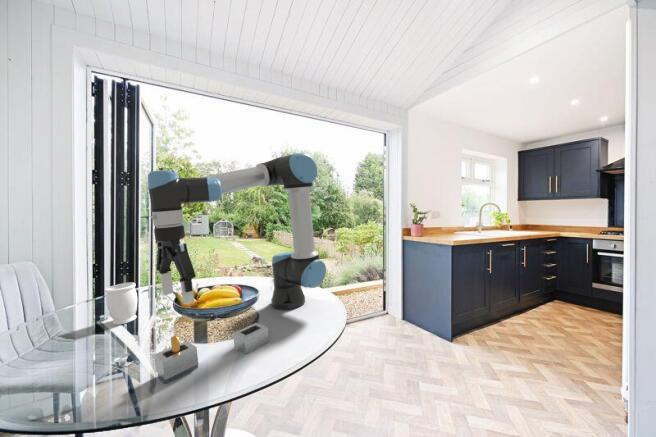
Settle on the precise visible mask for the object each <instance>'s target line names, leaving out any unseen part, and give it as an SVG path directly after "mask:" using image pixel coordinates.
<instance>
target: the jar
mask: <svg viewBox="0 0 656 437" xmlns="http://www.w3.org/2000/svg"><path fill="white" fill-rule="evenodd" d="M136 286H137V285H136V283H135V282H123V283H118V284H115V285H111V286H108V287H106V288H105V289H104V292H105V293H106V306H107V310H108V312H109V315H110V317H111V318H112V320H113V321H112V325H116V326H117V325H118V326H119V325H124V324H128V323H131V322H133V321H135V320H136V319H137V317H138V316H137V315H136V313H137V310H138V294H137V289H136Z"/></svg>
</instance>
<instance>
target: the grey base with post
mask: <svg viewBox="0 0 656 437" xmlns="http://www.w3.org/2000/svg"><path fill="white" fill-rule="evenodd" d="M170 344H171V345H170V346H171V347H172V355H174V354H177V353H179V352H180V345H179V344H180V338H179V335H173V336H171V337H170ZM198 368H199V363H198V364H197V365H195V366H193V367H191V368H189V369H187V370H185V371H183V372H181V373H179V374H176V375H174V376H172V377H170V378H168V379H166V380H164V379H163V378H162V377H161V376H160V375H159V374H158V373H157V378H158V379H159V380H160V381H161V382H162V383H163V384H165V385H166V384H168V383H170V382H172V381H174V380H176V379H178V378H180V377H183V376H184V375H186V374H187V373H190V372H192V371H194V370H196V369H198Z"/></svg>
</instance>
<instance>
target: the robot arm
mask: <svg viewBox="0 0 656 437" xmlns="http://www.w3.org/2000/svg"><path fill="white" fill-rule="evenodd" d="M318 171H319V170H318V167H317V163H316V161H315V160H314V158H312V156H311V155H310V154H307V153H306V152H305V153H304V152H299V153H293V154H288V155H285V156H280V157H276V158H274V159H271V160H269V161H264V162H261V163H257V164H256V165H255V166H251V167H247V168H243V169H238V170H232V171H227V172H220V173H216V174H211V175H206V176H201V177H179V173H178V171H176V170H163V169H162V170H153V171H150V172H148V174H147V186H148V187H147V190H148V193H149V199H150V209H151V214H152V215H150V219H151V220H152V223H153V226H154V227H155V228H154V229H153V232H154V239H155V241H156V242H157V256H156V266H155V267H156V268H155V269H156V271H157V272H159V276H160V282H161V291H162V295H163V296H167V295H170V294H174V287H173V279H172V269H171V266H172V262H173V263H174V266H175V268H176V269H177V272H178V275H179V277H180V279H179V283H180V288H181V290H180V291H181V296H182V304H183V305H187V304H191V303H193V302H195V297H194V296H195V295H194V286H193V280H192V279H194V278H196V276H197V275H196V272H195V269H194V266H193V263H192V260H191V257H190V255H189V251H188V247H187V246H188V245H187V243H186V242H184V243H181V239H182V240H183V239H185V237H186V233H185V226H184V225H182V224H184V214H183V207H182V204H193V203H195V204H196V203H197V204H198V203H206V202H207V203H211V202H217V201H219V200H220V199H221V198H222V195H225V194H229V193H233V192H238V191H242V190H245V189H251V188H254V187H259V186H261V187H262V188H264V187H270V186H283V190H284V191H285V192H286V193H287V194H288V202H289V205H288V206H289V213H290V214H289V215H290V224H291V234H292V243H293V244H292V245H293V251H287V252H282V253H276V254H274V255H273V256H272V260H271V261H272V262H271V265H272V275H273V276H272V277H273V291H272V292H273V293H272V296H271V299H270V300H271V302H270V303H271V307H272V308H273V309H277V310H282V311H283V310H292V309H293V310H294V309H297V308H299V307H302V306H303V305H305V303H306V296H305V294H304V292H303V288H305V289H306V288H309V289H314V288H317V287H319V286H320V285H321V284H322V283H323V282H324V280H325V277H326V275H327V274H326V273H327V266H326V264H325V263H324V261H322V260H321V259H320V253H319V252H318V250H316V249H315V246H316V244H315V238H314V237H315V236H314V227H313V226H314V224H313V215H312V204H311V193H310V191H311V190H312V189H313V188H314V185H313V183H314V181H315V180H316V179H317V176H318ZM302 287H303V288H302Z"/></svg>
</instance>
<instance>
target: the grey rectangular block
mask: <svg viewBox="0 0 656 437" xmlns="http://www.w3.org/2000/svg"><path fill="white" fill-rule="evenodd" d="M179 345H180V352H179V353H177V354H174V355H172V346H171V347H169V348H166V349H164V350H161V351H159V352H156V353H154V354H153V359H154V365H155V372H156V373H157V375H158V374H159V375H160V376H161V377H162V378H163V379H164V380H166V379H168V378H170V377H172V376H174V375H176V374H179V373H181V372H183V371H185V370H187V369H189V368H191V367H193V366H195V365H197V364H198V365H199V357H198V349H197V348H198V347H197V346H195V345H194V344H192V343H191V342H189V341H187V340H185V341H183V342H181V343H180V342H179Z"/></svg>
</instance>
